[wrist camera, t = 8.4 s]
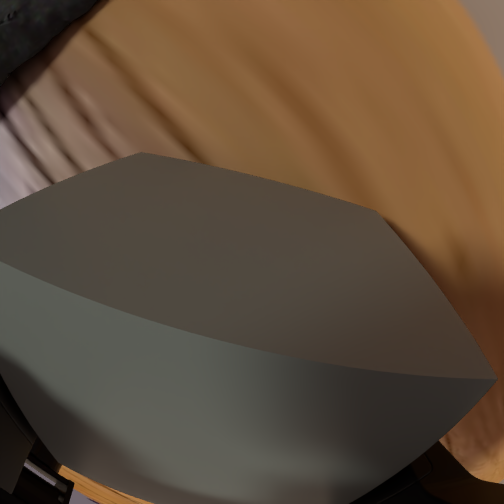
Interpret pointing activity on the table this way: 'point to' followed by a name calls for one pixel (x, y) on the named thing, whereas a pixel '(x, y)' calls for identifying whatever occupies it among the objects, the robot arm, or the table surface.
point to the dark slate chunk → (33, 27)
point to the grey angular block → (225, 336)
